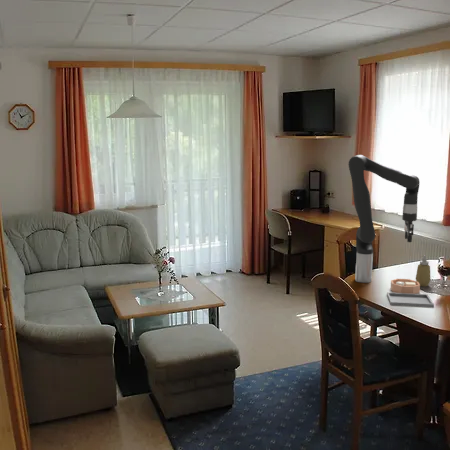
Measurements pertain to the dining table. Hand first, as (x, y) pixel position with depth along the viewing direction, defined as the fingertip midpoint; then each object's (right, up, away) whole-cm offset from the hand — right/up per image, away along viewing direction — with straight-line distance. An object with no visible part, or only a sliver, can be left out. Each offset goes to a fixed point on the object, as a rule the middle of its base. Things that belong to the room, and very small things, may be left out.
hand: (408, 240), depth 284 cm
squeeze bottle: (+12, -27, +11) cm, 31 cm away
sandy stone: (+1, -28, 0) cm, 28 cm away
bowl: (-2, -29, +1) cm, 29 cm away
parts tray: (-5, -32, -17) cm, 36 cm away
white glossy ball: (-4, -28, +1) cm, 28 cm away
